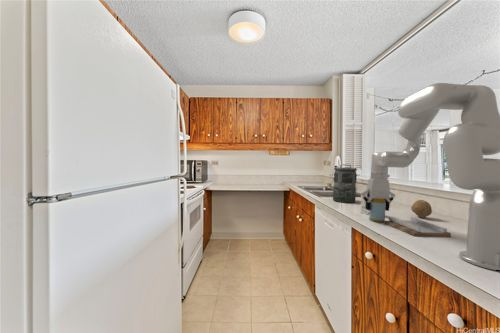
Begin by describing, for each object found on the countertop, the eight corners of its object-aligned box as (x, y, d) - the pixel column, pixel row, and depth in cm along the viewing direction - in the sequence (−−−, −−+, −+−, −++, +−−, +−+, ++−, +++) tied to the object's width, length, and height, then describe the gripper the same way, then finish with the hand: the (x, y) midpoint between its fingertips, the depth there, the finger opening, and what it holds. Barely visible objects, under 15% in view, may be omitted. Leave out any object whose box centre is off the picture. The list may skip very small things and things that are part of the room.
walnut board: (450, 236, 93) (450, 233, 93) (413, 235, 92) (413, 232, 92) (416, 224, 111) (416, 221, 111) (384, 223, 110) (385, 220, 110)
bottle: (372, 218, 120) (374, 190, 119) (387, 221, 114) (388, 192, 114) (366, 220, 116) (367, 191, 115) (380, 223, 110) (382, 192, 110)
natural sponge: (407, 216, 128) (407, 198, 128) (417, 215, 131) (418, 198, 131) (424, 220, 120) (425, 201, 119) (434, 219, 123) (435, 201, 122)
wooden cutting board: (446, 233, 93) (447, 228, 93) (417, 232, 92) (418, 228, 92) (413, 221, 111) (413, 217, 110) (388, 220, 110) (388, 216, 110)
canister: (355, 201, 174) (357, 165, 173) (355, 204, 160) (357, 165, 159) (333, 198, 181) (335, 164, 180) (331, 201, 166) (333, 164, 166)
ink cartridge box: (378, 214, 128) (380, 189, 128) (375, 216, 125) (377, 189, 125) (363, 212, 135) (364, 187, 134) (359, 213, 132) (361, 188, 131)
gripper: (390, 176, 118) (388, 208, 119) (358, 175, 118) (356, 208, 118) (400, 177, 111) (398, 212, 111) (366, 176, 110) (364, 211, 111)
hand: (377, 210), depth 115 cm, fingers open, 9 cm apart
